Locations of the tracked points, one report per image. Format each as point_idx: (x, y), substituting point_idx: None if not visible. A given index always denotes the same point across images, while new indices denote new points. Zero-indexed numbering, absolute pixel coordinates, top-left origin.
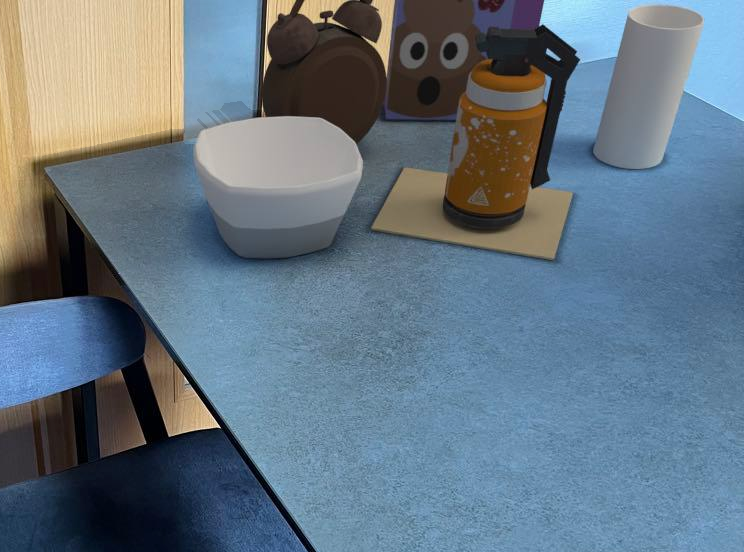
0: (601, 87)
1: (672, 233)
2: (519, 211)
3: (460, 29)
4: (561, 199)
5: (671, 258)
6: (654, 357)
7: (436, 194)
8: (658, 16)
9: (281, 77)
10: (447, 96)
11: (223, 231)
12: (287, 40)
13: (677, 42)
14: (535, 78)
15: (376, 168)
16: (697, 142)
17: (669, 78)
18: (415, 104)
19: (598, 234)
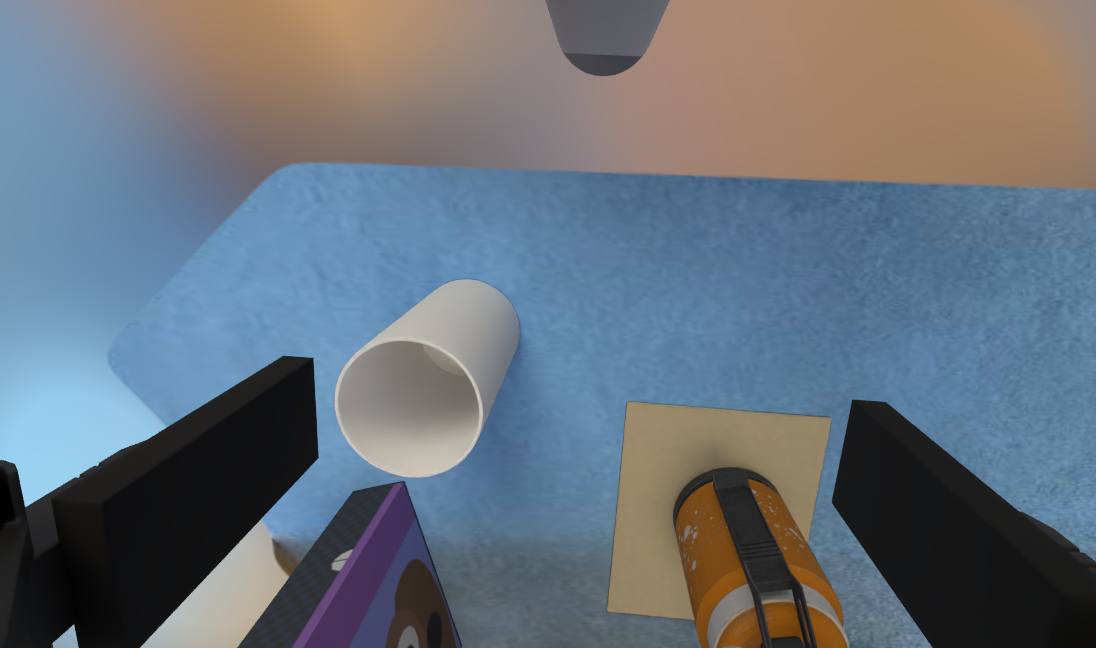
0: (225, 372)
1: (715, 265)
2: (756, 480)
3: None
4: (653, 416)
5: (792, 267)
6: (1066, 289)
7: (680, 568)
8: (349, 408)
9: None
10: (428, 602)
11: None
12: None
13: (480, 374)
14: (821, 628)
15: (612, 639)
16: (387, 225)
17: (491, 348)
18: (444, 631)
19: (740, 364)
